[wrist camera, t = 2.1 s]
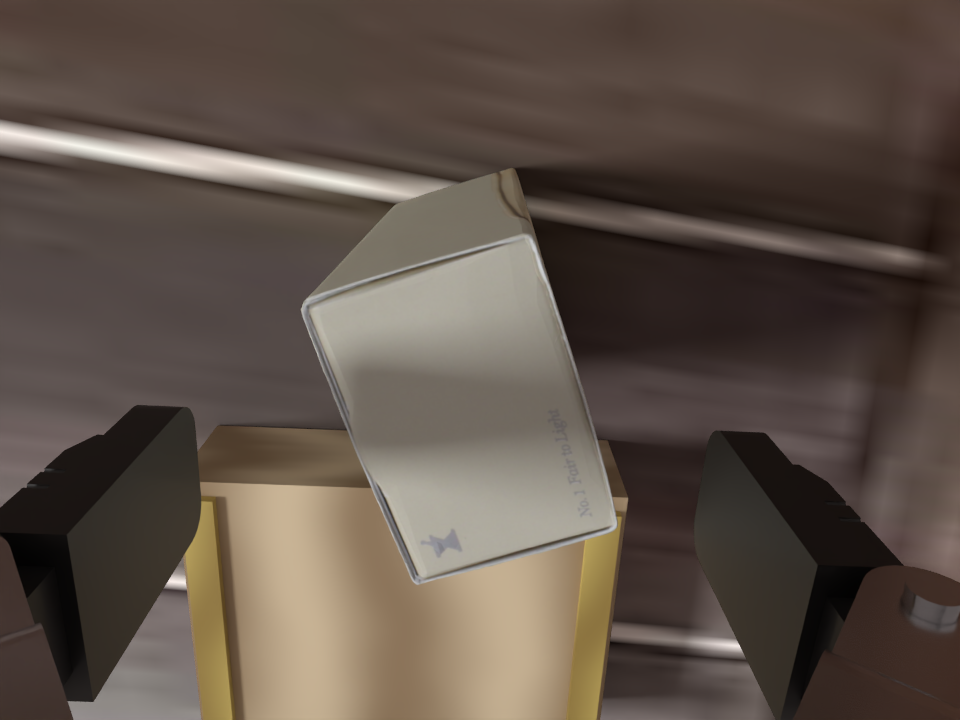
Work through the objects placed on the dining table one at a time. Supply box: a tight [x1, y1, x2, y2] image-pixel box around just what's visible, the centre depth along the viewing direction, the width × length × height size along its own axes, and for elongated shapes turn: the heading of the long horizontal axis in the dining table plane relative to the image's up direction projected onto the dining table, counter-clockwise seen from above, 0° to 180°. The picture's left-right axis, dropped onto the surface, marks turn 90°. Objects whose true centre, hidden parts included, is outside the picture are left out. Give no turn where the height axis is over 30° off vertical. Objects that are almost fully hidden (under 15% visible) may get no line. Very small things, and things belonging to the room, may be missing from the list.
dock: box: [183, 426, 628, 720], centre depth 26 cm, size 14×12×6 cm
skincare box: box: [301, 168, 618, 585], centre depth 19 cm, size 6×4×12 cm
